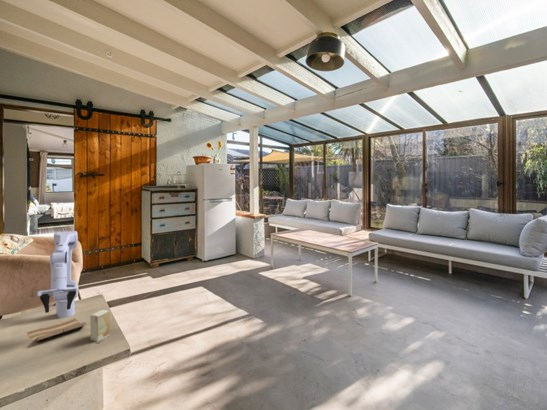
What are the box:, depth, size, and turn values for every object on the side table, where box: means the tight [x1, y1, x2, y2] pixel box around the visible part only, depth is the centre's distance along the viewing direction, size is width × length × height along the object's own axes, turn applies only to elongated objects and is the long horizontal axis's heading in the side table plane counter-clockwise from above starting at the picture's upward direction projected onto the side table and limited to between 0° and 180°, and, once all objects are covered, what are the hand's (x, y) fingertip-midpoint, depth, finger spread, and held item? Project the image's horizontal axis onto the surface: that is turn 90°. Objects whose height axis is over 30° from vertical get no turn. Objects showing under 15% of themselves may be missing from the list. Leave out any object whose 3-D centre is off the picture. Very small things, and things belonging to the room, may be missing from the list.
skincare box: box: [90, 309, 111, 344], centre depth 125 cm, size 6×4×12 cm
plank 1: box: [34, 329, 63, 343], centre depth 123 cm, size 7×8×1 cm
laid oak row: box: [26, 317, 81, 341], centre depth 132 cm, size 10×18×1 cm, turn 141°
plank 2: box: [60, 321, 87, 335], centre depth 130 cm, size 7×8×1 cm
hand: (58, 310), depth 124 cm, fingers open, 7 cm apart
